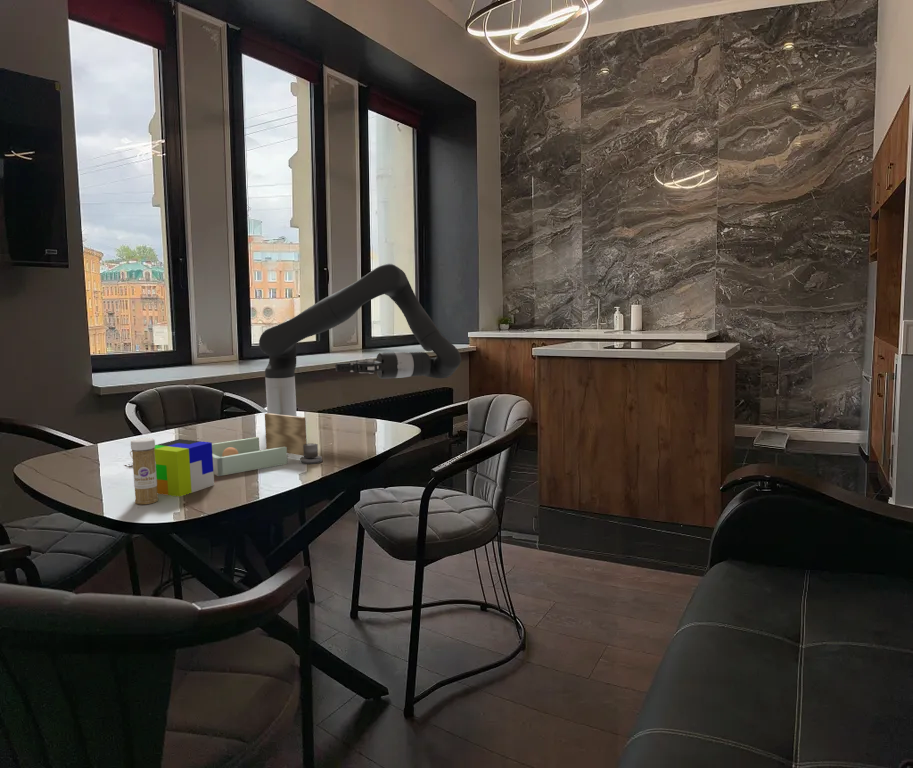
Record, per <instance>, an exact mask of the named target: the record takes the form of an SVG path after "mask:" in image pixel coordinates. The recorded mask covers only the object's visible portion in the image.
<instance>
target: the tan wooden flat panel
mask: <svg viewBox="0 0 913 768" xmlns="http://www.w3.org/2000/svg"><path fill="white" fill-rule="evenodd" d="M306 424H307V423H306V417H304V416H289V415H280V414H272V413H267V412H266V413H264V426H265V427H264V428H265V429H264V430H265V445H266V449H265V450H267V449H273V448H279V447H287V455H288V454H290V455H295V456H300V457H303V456H304V457H305V458H314V457H317V456H319V449H318V446H319V445H318V444H317V443H314V442H313V443H307V425H306Z"/></svg>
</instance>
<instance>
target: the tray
mask: <svg viewBox="0 0 913 768" xmlns="http://www.w3.org/2000/svg"><path fill="white" fill-rule="evenodd" d="M229 447H233V448H235V449H236V450H237V451H238V454H236V455H230V456H224V457H222V454H223V451H224V450H225V449H226V448H229ZM212 456H213V472H214V476H217V477H221V476H226V475H227V476H228V475H232V474H238V473H242V472H243V473H245V472H248V471H250V472H251V471H254V470H259V469H265V468H270V467H271V468H272V467H277V466H283V465H287V464H288V453H287V447H279V448H273V449H267V450H266V449H261V450H260V437H258V436H255V437H249V438H248V437H247V438H243V439H234V440H229V441H221V442H215V443H212Z"/></svg>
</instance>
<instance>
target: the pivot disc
mask: <svg viewBox="0 0 913 768" xmlns="http://www.w3.org/2000/svg"><path fill="white" fill-rule="evenodd" d="M322 462H323V456H322V455H318V456H317V457H314V458H305V457H304V456H300V458H299V464H302V465H314V464H321V463H322Z"/></svg>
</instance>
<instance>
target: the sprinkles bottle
mask: <svg viewBox="0 0 913 768" xmlns="http://www.w3.org/2000/svg"><path fill="white" fill-rule="evenodd" d="M155 445H156V440H155V439H154V437H140V438H134V439H132V440H130V449H131V450H130V451H132V452H131V454H132V456H133V459H132V461H133V462H132V465H133V467H132V470H133V484H134V485H133V486H134V499H135V501H134V503H135V504H136V505H142V506H143V505H151V504H155V503H156V502H158V501H159V497H158V495H159V494H157V475H156V462H155V451H154V450H155Z"/></svg>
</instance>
